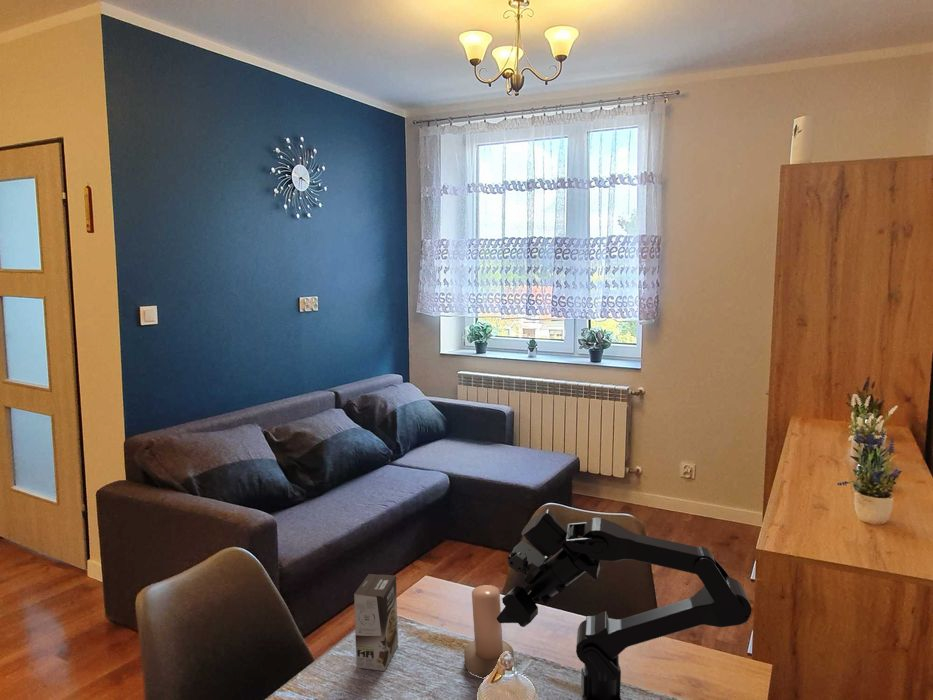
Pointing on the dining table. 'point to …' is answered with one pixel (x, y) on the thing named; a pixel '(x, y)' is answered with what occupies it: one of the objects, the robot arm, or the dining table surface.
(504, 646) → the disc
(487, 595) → the candle
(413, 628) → the dining table surface
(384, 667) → the coffee box
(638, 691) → the dining table surface
